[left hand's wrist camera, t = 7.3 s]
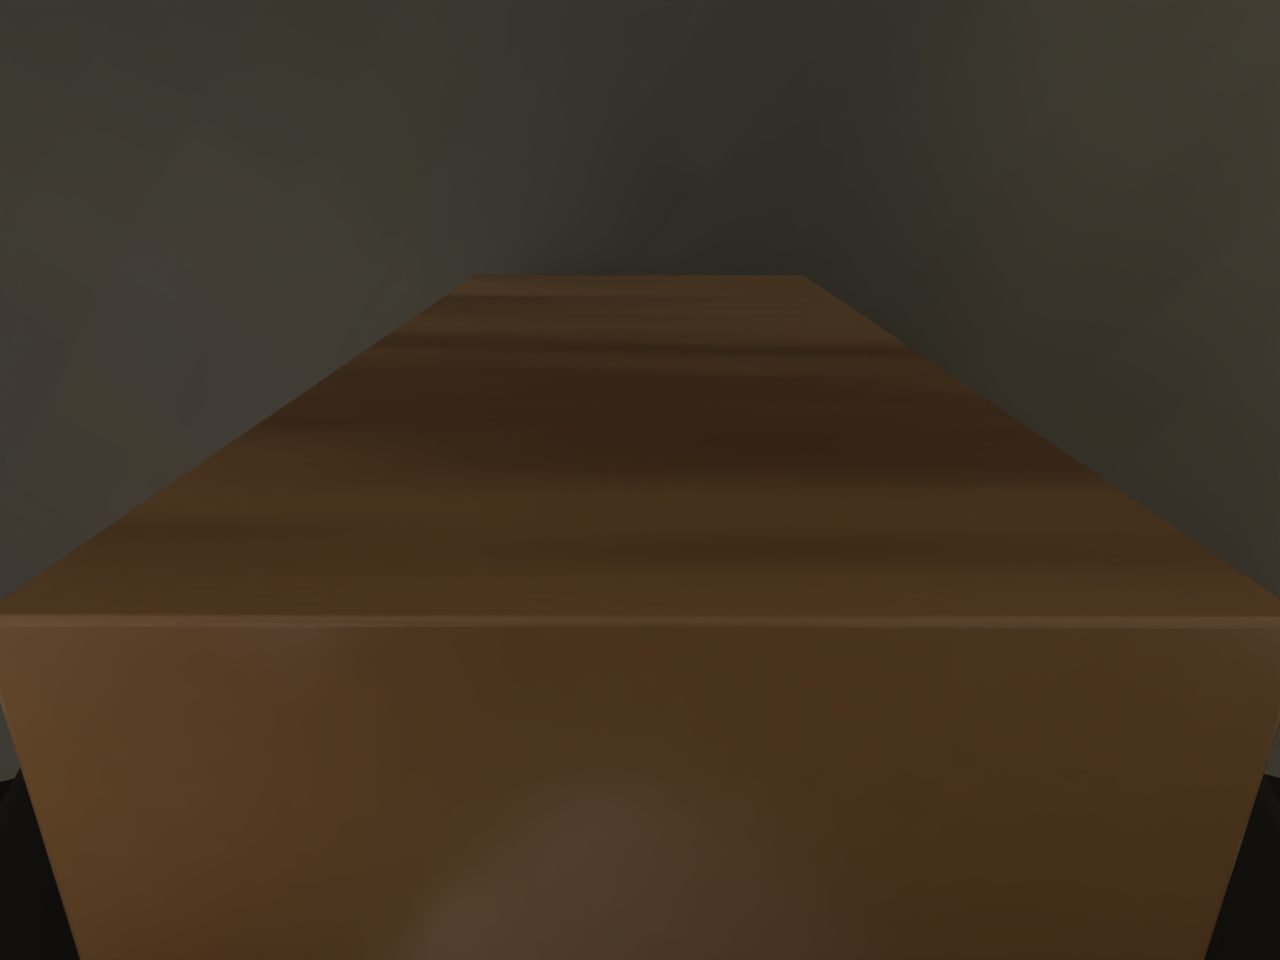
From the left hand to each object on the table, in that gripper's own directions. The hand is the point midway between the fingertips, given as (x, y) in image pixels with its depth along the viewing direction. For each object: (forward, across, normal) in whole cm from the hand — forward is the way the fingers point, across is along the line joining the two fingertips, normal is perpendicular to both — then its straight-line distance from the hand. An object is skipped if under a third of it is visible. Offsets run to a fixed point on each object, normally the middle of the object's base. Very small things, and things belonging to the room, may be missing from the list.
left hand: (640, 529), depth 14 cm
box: (+3, 0, -7) cm, 8 cm away
